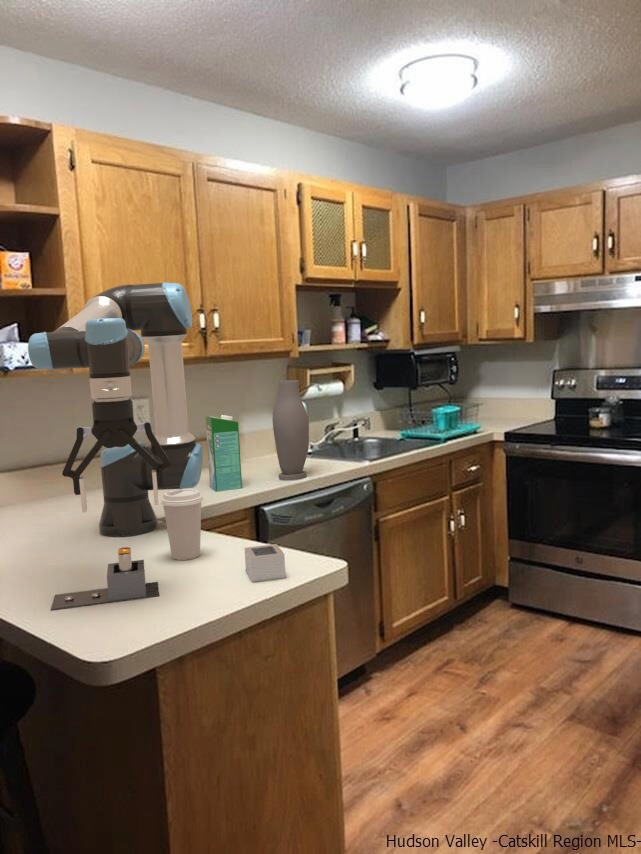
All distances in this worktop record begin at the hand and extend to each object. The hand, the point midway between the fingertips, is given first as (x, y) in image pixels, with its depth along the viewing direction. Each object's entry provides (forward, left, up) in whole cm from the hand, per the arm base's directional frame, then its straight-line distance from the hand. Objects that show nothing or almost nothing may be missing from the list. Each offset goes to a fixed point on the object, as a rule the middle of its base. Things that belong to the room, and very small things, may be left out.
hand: (121, 507), depth 137 cm
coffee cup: (-21, +13, -18) cm, 30 cm away
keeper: (0, -4, -18) cm, 18 cm away
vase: (-103, +57, -18) cm, 119 cm away
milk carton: (-96, +32, -18) cm, 103 cm away
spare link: (-1, +28, -18) cm, 33 cm away
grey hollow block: (0, 0, -17) cm, 17 cm away
